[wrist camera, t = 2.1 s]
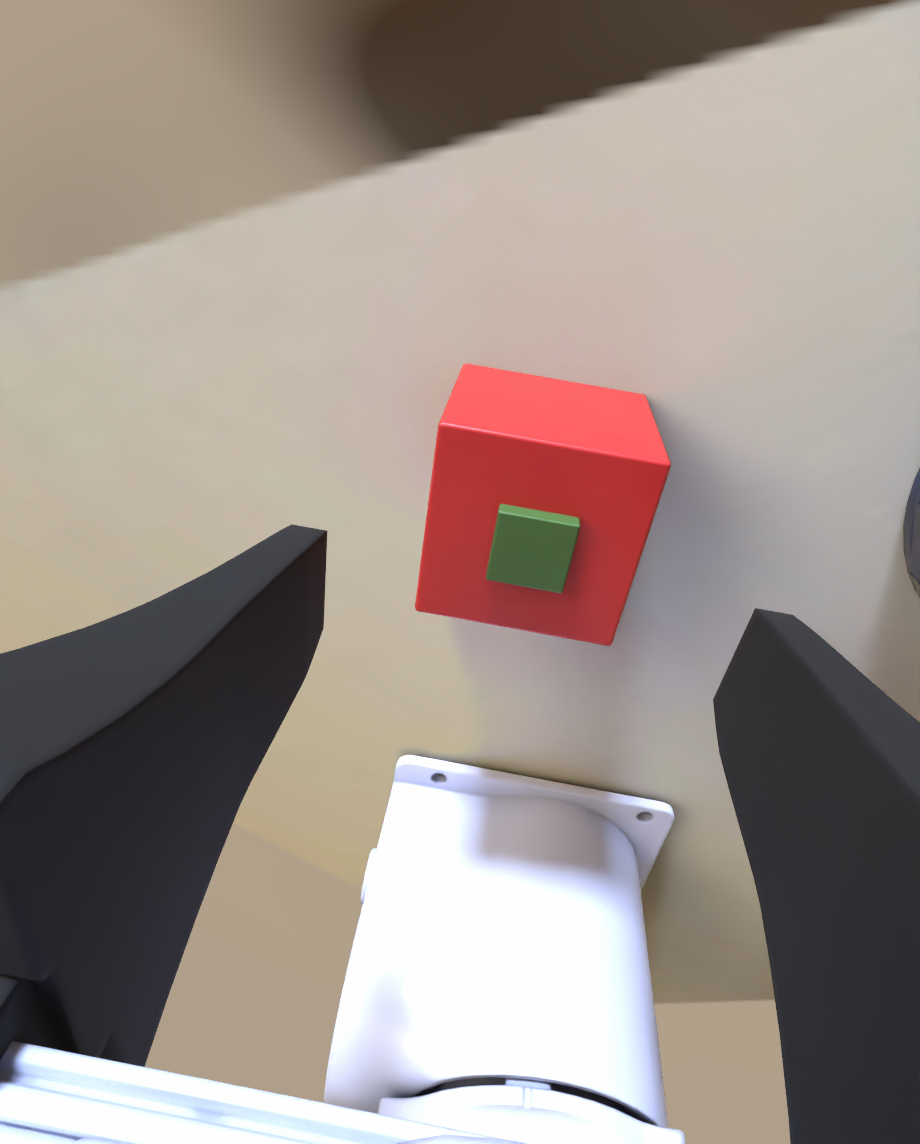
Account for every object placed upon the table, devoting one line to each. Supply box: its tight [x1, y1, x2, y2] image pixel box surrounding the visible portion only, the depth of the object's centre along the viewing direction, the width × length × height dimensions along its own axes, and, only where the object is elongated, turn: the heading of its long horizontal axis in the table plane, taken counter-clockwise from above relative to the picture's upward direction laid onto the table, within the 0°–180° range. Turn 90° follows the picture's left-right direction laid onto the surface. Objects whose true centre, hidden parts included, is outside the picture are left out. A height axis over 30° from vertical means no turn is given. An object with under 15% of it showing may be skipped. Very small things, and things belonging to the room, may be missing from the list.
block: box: [415, 364, 671, 646], centre depth 15 cm, size 4×4×5 cm
